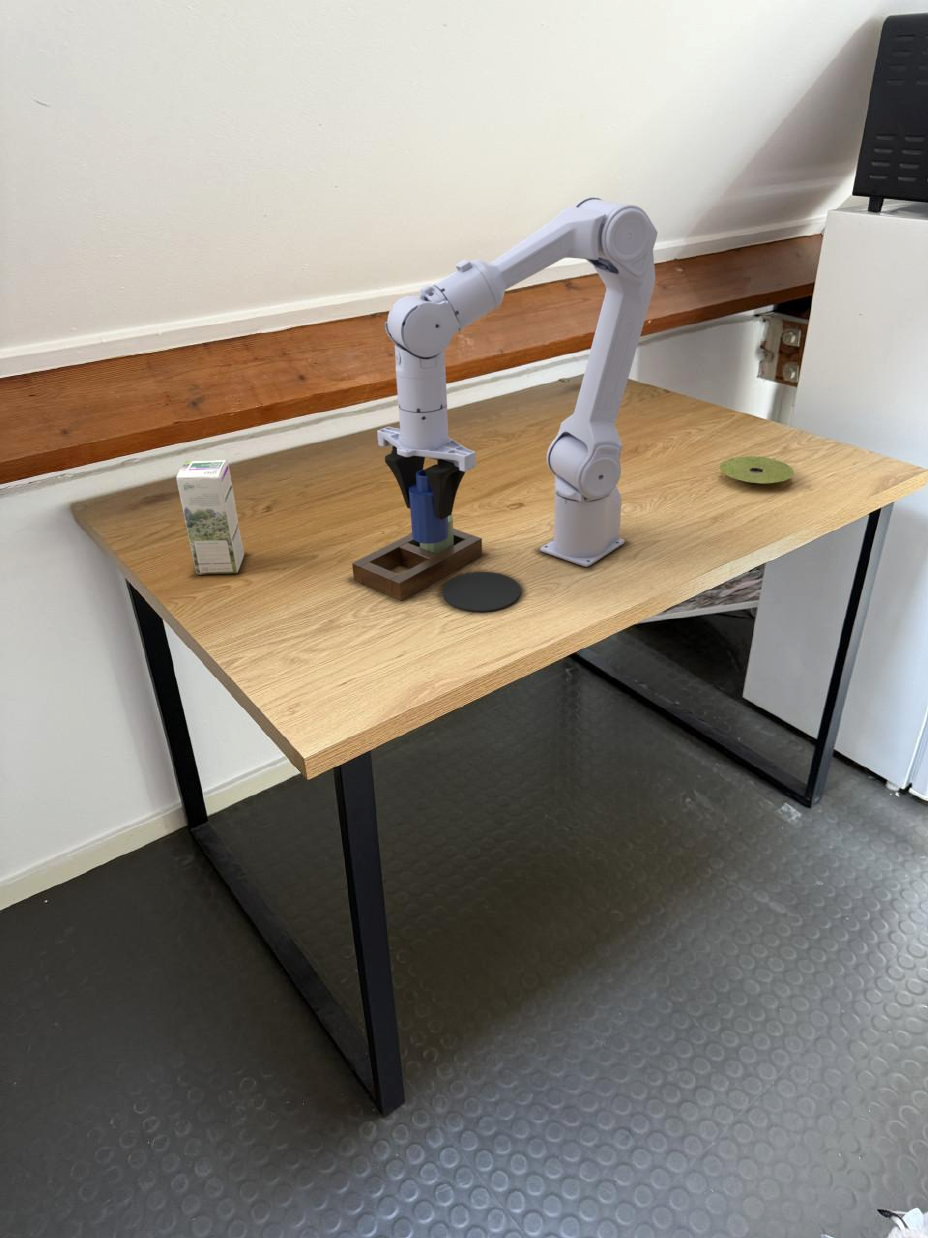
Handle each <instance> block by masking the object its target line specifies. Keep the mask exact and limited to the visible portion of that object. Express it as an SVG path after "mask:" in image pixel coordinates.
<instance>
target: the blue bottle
mask: <svg viewBox="0 0 928 1238" xmlns="http://www.w3.org/2000/svg"><path fill="white" fill-rule="evenodd" d="M425 469H426V468H423V470H420V471H417V473H416V483H415V484H413V485H411V486H410V487H409V497H410V509H409V510H410V523H411V524H410V525H411V533H412V537H413V539H414V540H415V541H417V542H419V543H424V544H433V543H438V542H442V541H444V540H445V539H447V537H448V517H446V518H444V519H442V520H440V519H437V517H436V513H435V507H434V497H433V492H432V488H431V484H430V482H429V479H428V477H427V475H426V473H425Z"/></svg>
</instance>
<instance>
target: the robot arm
mask: <svg viewBox="0 0 928 1238" xmlns="http://www.w3.org/2000/svg"><path fill="white" fill-rule="evenodd" d="M658 234H659V232H658V231H657V229H656V226H655V225H654V224H653V222H652V220H651V218H650V216H649V215H648V214H647V212H646V211H645V210H644V209H643V208H641V207H640V206H638V205H635V204H623V203H618V202H612V201H608V200H603V199H601V198H599V197H596V196H589V197H585V198H583V199H581V200H580V201H578V202H577V203H575V204H574V206H573V205H571V206H569V207H566V208H563V209H562V210H561V211H559V212H558V214H557V215H556V216H555V217H554V218H553V219H551V220H550V221H549V222H547V223H546V224H544V225H543V226H542V227H540V228H539V229H537V230H536V231H534V232H533V233H531V234H530V235H528V236H527V237H526V238H524V239H523V240H520V242H518V243H517V244H515V245H514V246H513V247H511V248H510V249H508V250H507V251H505V252H504V253H502V254H501V255H500V256H498V257H496V258H495V259H494V260H493V261H491V262H490V263H489V262H485V261H483V260H481V259H474V260H471V261H469V260H466V259H463V260H461V261H460V262H458V263H456V264H455V268H456V271H454V272H452V273H451V274H449V275H448V276H446V277H444V278H442V279H441V280H439V281H437V282H436V283H434V284H433V285H431V284H427V283H426V284H425V285H424V286H421V288H420V291H421V292H420V295H415V294H414V295H411V294H410V295H406V296H403V297H401V298H400V299H398V300H397V301H396V302H395V303H393V305H392V306H391V307H392V309H390V310H389V312H388V315H387V321H385V322H384V329H385V332H386V335H387V336H388V338H389V339H390V340H391V341H392V342H393V344H394V353H395V354H394V357H395V376H396V377H395V378H396V390H397V391H396V392H397V405H398V418H399V419H398V420H399V428H398V427H392V426H385V427H384V428H380V429H378V430H377V431H376V432H377V444H378V446H379V447H382V448H385V447H391V449H392V450H391V451H390V453H388V454H386V455H385V456H384V462H385V464H386V465H387V466H388V468H389V470H390V471H391V472H392V475H393V476H394V478H395V479H396V482H397V484H398V487H399V489H400V492H401V494H402V497H403V500H404V504H405V506H406V508H407V509H409V510H410V497H409V487H410V486H411V485H413V484H415V483H416V473H417V471H420V470H423V469H425V473H426V475H427V477H428V479H429V482H430V484H431V488H432V492H433V497H434V507H435V513H436V517H437V519H440V520H442V519H444V518H446V517H448V516H450V515H452V514H453V509H454V505H455V501H456V498H457V497H456V496H457V493H458V490H459V487H460V484H461V482H462V480H463V478H464V476H465V474H466V472H468V471H471V470H473V469H475V468H476V467H477V452H476V450H473V449H469V448H467V447H465V446H464V445H463V444H461V443H459V442H457V441H456V440H454V439H453V438H452V437H449V415H448V398H447V397H448V395H447V394H448V393H447V374H446V369H447V368H446V360H445V359H446V358H445V351H446V350H447V349H448V348H449V346H450V344H451V342H452V339H453V337H454V335H456V334H457V333H459V332H461V331H462V330H464V329H466V328H467V327H469V326H471V325H472V324H474V323H475V322H477V321H478V320H480V319H482V318H483V317H485V316H487V315H488V314H490V313H492V312H493V311H495V310H497V309H498V308H499V307H501V305H502V303H503V301H504V296H505V293H506V291H507V290H508V289H510V288H512V287H514V286H516V285H517V284H519V283H521V282H523V281H524V280H527V279H528V278H530V277H532V276H534V275H536V274H537V273H540V272H541V271H543V270H545V269H546V268H548V267H550V266H553V265H554V264H556V263H558V262H559V261H561V260H563V259H568V258H569V259H579V260H580V259H581V260H586V261H587V263H589V264H591V265H592V266H593V268H594V269H595V271H596V273H597V274H598V276H599V278H600V279H601V281H602V282H603V284H604V286H605V288H606V289H605V290H606V291H605V294H604V298H603V301H602V305H601V310H600V314H599V317H598V321H597V324H596V328H595V331H594V336H593V339H592V343H591V347H590V351H589V354H588V359H587V362H586V366H585V370H584V374H583V377H582V380H581V381H582V382H581V386H580V390H579V392H578V397H577V401H576V403H575V408H574V412H573V413H572V414H571V415H569V416H568V417H567V418H565V419H564V420H563V421H561V423H560V426H559V430H558V432H557V434H556V436H555V438H554V439H553V440H552V442H551V443H550V445H549V446H548V448H547V452H546V465H547V467H548V470H550V472H551V473H552V474H553V475H554V508H553V509H554V511H553V512H554V514H553V539H552V540H551V541H549V542H548V543H545V544H544V545H542V546H541V547H540V552H542V553H544V554H548V555H550V556H553V557H556V558H559V559H562V560H565V561H567V562H571V563H574V564H576V565H579V566H582V567H585V568H588V567H590V566H591V565H593V564H595V563H596V562H598V561H599V560H600V559H603V558H604V557H605V556H607V555H608V554H610V553H611V552H613V551H615V550H617V549H618V548H619V547H621V546H622V545H624V544H625V542H626V540H625V539H624V538H623V537H622V538H621V537H620V532H621V520H622V519H621V517H622V501H623V500H622V496H621V493H620V491H619V489H618V487H617V485H618V483H619V482H620V478H621V473H622V466H621V461H620V460H621V454H622V450H623V442H622V440H621V437H620V434H619V431H618V429H617V425H616V423H617V419H618V416H619V413H620V409H621V405H622V402H623V398H624V394H625V391H626V387H627V384H628V380H629V377H630V373H631V369H632V367H633V363H634V359H635V356H636V352H637V348H638V346H639V342H640V339H641V334H642V332H643V328H644V324H645V320H646V317H647V313H648V310H649V307H650V303H651V301H652V296H653V293H654V289H655V284H656V269H655V257H654V248H655V245H656V241H657V238H658ZM426 458H428V459H430V460H434V461H437V463H436V464H433V465H431V466H428V467H426V468H424V466H425V459H426ZM452 516H453V515H452Z"/></svg>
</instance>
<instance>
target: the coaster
mask: <svg viewBox="0 0 928 1238" xmlns="http://www.w3.org/2000/svg"><path fill="white" fill-rule="evenodd" d="M521 592H522V591H521V586H520V584H519V583H518V582H517V581H516V580H515V579H513V578H512V577H511V576H508V575H505V574H502V573H498V572H494V571H493V572H492V571H476V572H475V571H474V572H467V573H464V574H460V575H458V576H455V577H453V578H451V579H450V580H449V581H447V582H446V583H445V585H444V586H443V587H442V598H443V600H444V601H445V602H446V603H447V604H448V605H450V606H451V607H452V608H455V609H458V610H460V611H465V612H469V613H470V612H471V613H491V612H497V611H501V610H503V609H506V608H508V607H510V606H512V605H514V604H515V603H516V602H518V600H519V598H520V596H521Z"/></svg>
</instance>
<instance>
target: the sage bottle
mask: <svg viewBox="0 0 928 1238" xmlns="http://www.w3.org/2000/svg"><path fill="white" fill-rule="evenodd" d="M453 520H454V518H453V515H450V516H448V537H447V539H445V540H444V541H442V542H438V543H433V544H424V543H420V548H422V549H425V550H428V551H430V552H433V553H435V554H439V553H441V552H443V551H445V550H447V549H449V548H450V547H452V546H454V539H453V528H454V521H453Z"/></svg>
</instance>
